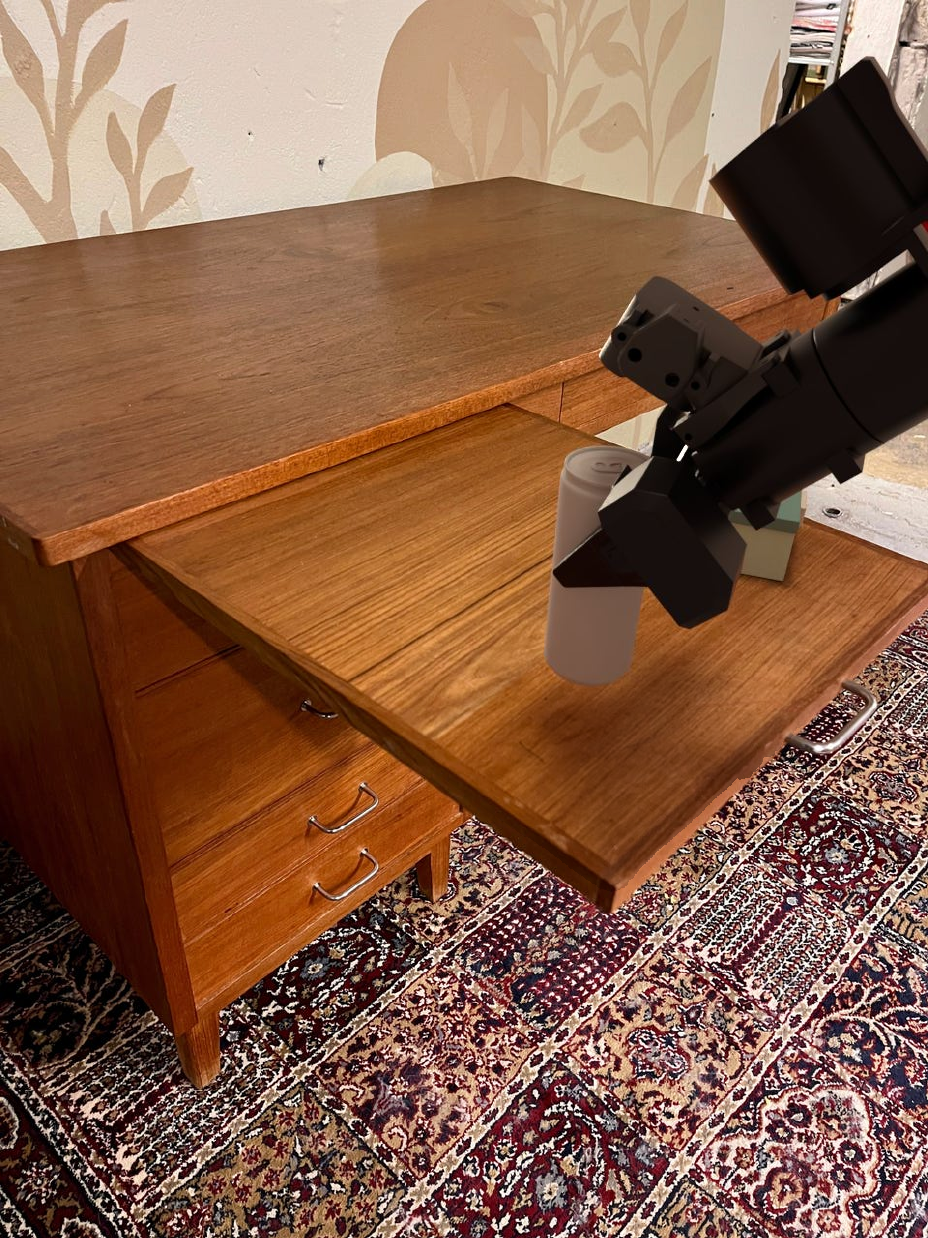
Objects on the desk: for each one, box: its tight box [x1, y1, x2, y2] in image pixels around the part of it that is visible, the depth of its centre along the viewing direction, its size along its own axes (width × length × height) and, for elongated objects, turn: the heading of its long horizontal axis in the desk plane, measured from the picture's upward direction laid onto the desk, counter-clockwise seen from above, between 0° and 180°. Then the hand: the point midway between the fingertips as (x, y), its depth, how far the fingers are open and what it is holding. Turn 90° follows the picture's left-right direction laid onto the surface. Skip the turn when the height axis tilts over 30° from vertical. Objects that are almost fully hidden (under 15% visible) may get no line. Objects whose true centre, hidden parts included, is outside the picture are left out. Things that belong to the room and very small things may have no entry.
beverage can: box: [543, 445, 650, 688], centre depth 50 cm, size 5×5×12 cm
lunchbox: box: [729, 490, 808, 582], centre depth 74 cm, size 10×10×5 cm
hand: (573, 555), depth 50 cm, fingers closed on beverage can, 5 cm apart
